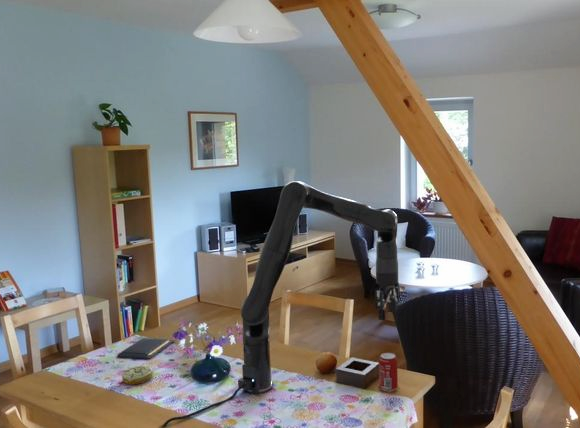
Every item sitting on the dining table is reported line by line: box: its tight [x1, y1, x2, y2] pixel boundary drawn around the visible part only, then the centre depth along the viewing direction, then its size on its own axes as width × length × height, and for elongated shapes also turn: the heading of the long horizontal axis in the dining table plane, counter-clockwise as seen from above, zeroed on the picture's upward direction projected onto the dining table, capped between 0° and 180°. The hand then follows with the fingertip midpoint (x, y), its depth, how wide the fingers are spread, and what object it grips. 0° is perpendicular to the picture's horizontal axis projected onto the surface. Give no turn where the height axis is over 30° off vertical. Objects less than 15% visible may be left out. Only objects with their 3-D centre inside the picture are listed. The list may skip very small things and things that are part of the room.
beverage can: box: [378, 352, 399, 393], centre depth 196 cm, size 6×6×12 cm
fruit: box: [315, 351, 338, 374], centre depth 212 cm, size 8×8×8 cm
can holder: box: [335, 357, 379, 390], centre depth 205 cm, size 12×12×5 cm
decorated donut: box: [121, 364, 154, 385], centre depth 208 cm, size 10×11×4 cm
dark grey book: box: [117, 337, 174, 360], centre depth 238 cm, size 20×2×15 cm
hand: (387, 316), depth 193 cm, fingers open, 8 cm apart
